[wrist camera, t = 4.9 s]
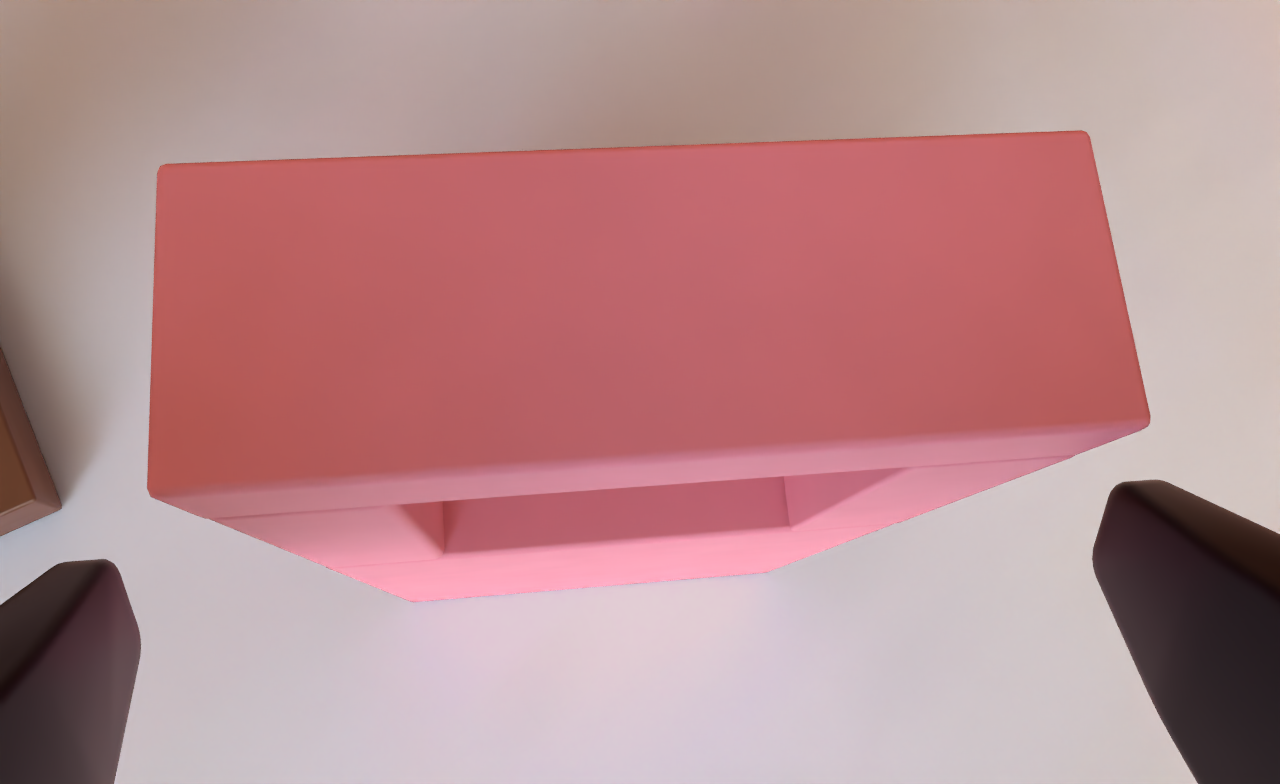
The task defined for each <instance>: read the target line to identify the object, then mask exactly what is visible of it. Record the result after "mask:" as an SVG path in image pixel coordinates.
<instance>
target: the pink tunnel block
mask: <svg viewBox="0 0 1280 784" xmlns="http://www.w3.org/2000/svg"><path fill="white" fill-rule="evenodd" d="M1149 424H1150V412H1149V408H1148V403H1147V399H1146V394H1145V389H1144V385H1143V380H1142V375H1141V371H1140V366H1139V362H1138V357H1137V352H1136V348H1135V343H1134V339H1133V334H1132V329H1131V325H1130V320H1129V316H1128V311H1127V306H1126V302H1125V297H1124V292H1123V288H1122V283H1121V279H1120V274H1119V269H1118V265H1117V260H1116V256H1115V251H1114V246H1113V242H1112V237H1111V233H1110V228H1109V223H1108V219H1107V214H1106V209H1105V205H1104V200H1103V196H1102V191H1101V186H1100V182H1099V177H1098V173H1097V168H1096V163H1095V159H1094V154H1093V150H1092V145H1091V140H1090V137H1089V135H1088V134H1087V132H1084V131H1055V132H1028V133H1001V134H973V135H946V136H919V137H891V138H864V139H836V140H809V141H782V142H754V143H727V144H700V145H672V146H645V147H618V148H590V149H563V150H536V151H508V152H481V153H453V154H426V155H399V156H371V157H344V158H317V159H289V160H262V161H235V162H207V163H180V164H165V165H162V166H160V167H159V170H158V173H157V196H156V227H155V259H154V290H153V322H152V353H151V385H150V416H149V448H148V479H147V489H148V491H149V494H150V496H151V497H152V498H155V499H157V500H160V501H162V502H165V503H167V504H170V505H172V506H175V507H177V508H180V509H182V510H185V511H187V512H190V513H192V514H194V515H197V516H200V517H203V518H208V519H210V520H213V521H215V522H218V523H220V524H223V525H225V526H228V527H230V528H233V529H235V530H237V531H240V532H242V533H245V534H247V535H250V536H252V537H255V538H257V539H259V540H262V541H264V542H267V543H269V544H272V545H274V546H277V547H279V548H282V549H284V550H286V551H289V552H291V553H294V554H296V555H299V556H301V557H304V558H306V559H309V560H311V561H313V562H316V563H318V564H321V565H323V566H326V567H327V568H329V569H331V570H334V571H336V572H339V573H341V574H344V575H346V576H349V577H351V578H354V579H356V580H359V581H361V582H364V583H366V584H369V585H371V586H374V587H376V588H378V589H381V590H383V591H386V592H388V593H391V594H393V595H396V596H398V597H401V598H403V599H406V600H408V601H411V602H420V601H432V600H443V599H455V598H467V597H479V596H491V595H503V594H515V593H527V592H539V591H551V590H563V589H575V588H587V587H599V586H611V585H623V584H635V583H647V582H659V581H671V580H682V579H694V578H706V577H718V576H730V575H742V574H754V573H766V572H769V571H772V570H774V569H777V568H779V567H782V566H785V565H787V564H790V563H793V562H795V561H798V560H800V559H803V558H806V557H808V556H811V555H814V554H816V553H819V552H821V551H824V550H827V549H829V548H832V547H835V546H837V545H840V544H842V543H845V542H848V541H850V540H853V539H856V538H858V537H861V536H863V535H866V534H869V533H871V532H874V531H877V530H879V529H882V528H884V527H887V526H890V525H892V524H894V523H900V522H902V521H905V520H908V519H910V518H913V517H916V516H918V515H921V514H923V513H926V512H929V511H931V510H934V509H937V508H939V507H942V506H945V505H947V504H950V503H953V502H955V501H958V500H960V499H963V498H966V497H968V496H971V495H974V494H976V493H979V492H982V491H984V490H987V489H990V488H992V487H995V486H997V485H1000V484H1003V483H1005V482H1008V481H1011V480H1013V479H1016V478H1019V477H1021V476H1024V475H1027V474H1029V473H1032V472H1034V471H1037V470H1040V469H1042V468H1045V467H1048V466H1050V465H1053V464H1056V463H1058V462H1061V461H1063V460H1066V459H1069V458H1071V457H1073V456H1075V455H1077V454H1080V453H1082V452H1085V451H1087V450H1090V449H1093V448H1095V447H1098V446H1101V445H1103V444H1106V443H1108V442H1111V441H1114V440H1116V439H1119V438H1122V437H1124V436H1127V435H1130V434H1132V433H1135V432H1137V431H1140V430H1142V429H1144V428H1146V427H1148V425H1149Z"/></svg>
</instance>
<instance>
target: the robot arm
mask: <svg viewBox="0 0 1280 784" xmlns="http://www.w3.org/2000/svg"><path fill="white" fill-rule="evenodd" d="M1092 560H1093V568H1094V572H1095V575H1096V578H1097V580H1098V582H1099V585H1100V587H1101V589H1102V591H1103V593H1104V596H1105V598H1106V600H1107V602H1108V605H1109V607H1110V609H1111V611H1112V614H1113V616H1114V618H1115V620H1116V622H1117V625H1118V627H1119V629H1120V631H1121V634H1122V636H1123V638H1124V640H1125V643H1126V645H1127V647H1128V649H1129V651H1130V654H1131V656H1132V658H1133V660H1134V663H1135V665H1136V667H1137V669H1138V671H1139V674H1140V676H1141V678H1142V680H1143V683H1144V685H1145V687H1146V689H1147V692H1148V694H1149V696H1150V698H1151V700H1152V702H1153V704H1154V706H1155V708H1156V710H1157V712H1158V714H1159V716H1160V718H1161V720H1162V721H1163V723H1164V725H1165V727H1166V729H1167V731H1168V732H1169V734H1170V736H1171V738H1172V740H1173V741H1174V743H1175V745H1176V747H1177V748H1178V750H1179V752H1180V754H1181V755H1182V757H1183V759H1184V760H1185V762H1186V764H1187V766H1188V767H1189V769H1190V771H1191V772H1192V774H1193V776H1194V778H1195V779H1196V781H1197V783H1198V784H1280V534H1278V533H1276V532H1274V531H1272V530H1269V529H1267V528H1265V527H1263V526H1261V525H1259V524H1256V523H1254V522H1252V521H1250V520H1248V519H1246V518H1243V517H1241V516H1239V515H1237V514H1235V513H1233V512H1231V511H1228V510H1226V509H1224V508H1222V507H1220V506H1218V505H1215V504H1213V503H1211V502H1209V501H1207V500H1205V499H1202V498H1200V497H1198V496H1196V495H1194V494H1192V493H1189V492H1187V491H1185V490H1183V489H1181V488H1179V487H1176V486H1174V485H1172V484H1170V483H1168V482H1165V481H1162V480H1142V481H1129V482H1122V483H1120V484H1118V485H1116V486H1115V487H1114V488H1113V490H1112V491H1111V492H1110V495H1109V497H1108V501H1107V504H1106V507H1105V511H1104V514H1103V517H1102V521H1101V524H1100V527H1099V531H1098V534H1097V537H1096V541H1095V544H1094V548H1093V557H1092ZM140 651H141V639H140V632H139V628H138V625H137V622H136V619H135V616H134V613H133V610H132V607H131V604H130V602H129V599H128V596H127V593H126V590H125V587H124V584H123V581H122V578H121V575H120V573H119V571H118V569H117V567H116V566H115V565H114V563H112V562H110V561H108V560H106V559H98V560H84V561H71V562H63V563H60V564H57V565H55V566H54V567H52V568H51V569H49V570H48V571H46V572H45V573H44V574H42V575H41V576H40V577H38V578H37V579H35V580H34V581H33V582H31V583H30V584H29V585H27V586H26V587H25V588H23V589H22V590H20V591H19V592H18V593H16V594H15V595H14V596H12V597H11V598H9V599H8V600H7V601H5V602H4V603H3V604H1V605H0V784H114V781H115V776H116V771H117V766H118V761H119V756H120V752H121V747H122V742H123V737H124V732H125V727H126V723H127V718H128V713H129V708H130V703H131V698H132V693H133V689H134V684H135V679H136V674H137V669H138V664H139V659H140Z"/></svg>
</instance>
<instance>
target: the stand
mask: <svg viewBox="0 0 1280 784" xmlns="http://www.w3.org/2000/svg"><path fill="white" fill-rule="evenodd" d="M61 508H62V505H61V502H60V500H59V497H58V495H57V492H56V490H55V487H54V484H53V482H52V479H51V477H50V474H49V472H48V469H47V466H46V464H45V461H44V459H43V456H42V453H41V451H40V448H39V446H38V443H37V441H36V438H35V435H34V433H33V430H32V428H31V425H30V423H29V420H28V417H27V415H26V412H25V410H24V407H23V405H22V402H21V399H20V397H19V394H18V392H17V389H16V387H15V384H14V381H13V379H12V376H11V374H10V371H9V368H8V366H7V363H6V361H5V358H4V356H3V353H2V350H1V348H0V536H2V535H4V534H6V533H9V532H11V531H13V530H15V529H18V528H20V527H22V526H24V525H27V524H29V523H31V522H33V521H36V520H38V519H40V518H42V517H45V516H47V515H49V514H51V513H54V512H56V511H58V510H60V509H61Z"/></svg>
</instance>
